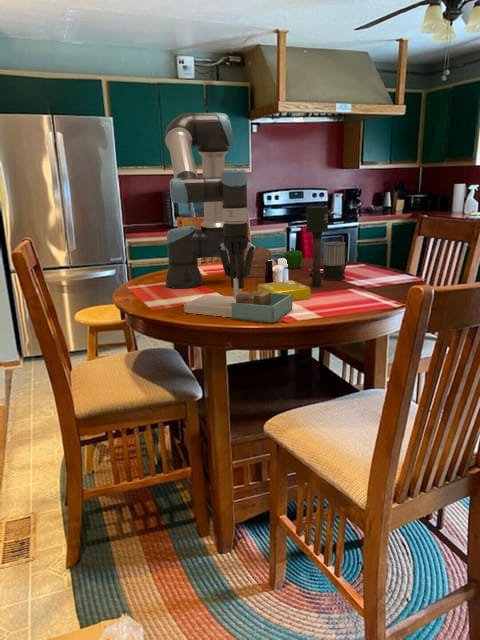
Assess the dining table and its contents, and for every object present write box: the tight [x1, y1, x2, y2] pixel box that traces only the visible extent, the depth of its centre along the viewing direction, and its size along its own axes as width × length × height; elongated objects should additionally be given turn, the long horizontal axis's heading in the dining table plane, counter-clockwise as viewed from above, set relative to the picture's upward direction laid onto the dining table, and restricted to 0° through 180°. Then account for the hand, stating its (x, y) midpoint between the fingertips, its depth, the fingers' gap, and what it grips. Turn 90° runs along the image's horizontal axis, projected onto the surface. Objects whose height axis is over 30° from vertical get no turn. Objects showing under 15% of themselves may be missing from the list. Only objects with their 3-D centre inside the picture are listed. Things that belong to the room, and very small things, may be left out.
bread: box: [236, 246, 272, 278], centre depth 217 cm, size 17×29×11 cm, turn 177°
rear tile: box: [236, 291, 257, 304], centre depth 148 cm, size 6×6×3 cm
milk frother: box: [309, 241, 348, 282], centre depth 198 cm, size 14×16×15 cm
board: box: [183, 294, 236, 318], centre depth 154 cm, size 17×14×3 cm
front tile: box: [254, 291, 271, 306], centre depth 147 cm, size 6×6×3 cm
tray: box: [231, 291, 293, 324], centre depth 147 cm, size 14×16×5 cm
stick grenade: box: [305, 205, 330, 288], centre depth 180 cm, size 8×9×30 cm
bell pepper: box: [284, 247, 303, 270], centre depth 222 cm, size 8×8×10 cm
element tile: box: [257, 280, 311, 302], centre depth 169 cm, size 15×15×5 cm
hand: (238, 298), depth 150 cm, fingers closed
